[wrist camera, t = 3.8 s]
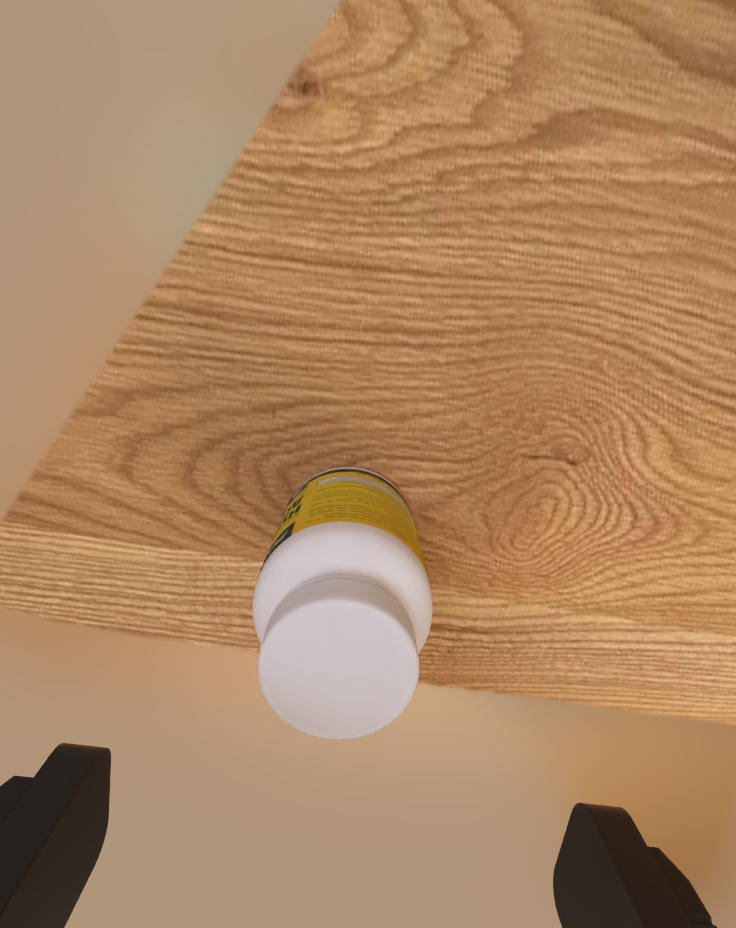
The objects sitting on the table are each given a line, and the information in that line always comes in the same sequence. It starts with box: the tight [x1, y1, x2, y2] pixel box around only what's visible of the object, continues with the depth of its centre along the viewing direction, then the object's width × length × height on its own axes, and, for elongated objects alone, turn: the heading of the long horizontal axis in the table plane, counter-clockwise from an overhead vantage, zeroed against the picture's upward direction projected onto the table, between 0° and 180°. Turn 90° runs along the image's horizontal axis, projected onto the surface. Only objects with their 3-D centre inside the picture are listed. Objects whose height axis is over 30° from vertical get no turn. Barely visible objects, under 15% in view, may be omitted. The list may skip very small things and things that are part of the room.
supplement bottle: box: [253, 467, 433, 739], centre depth 17 cm, size 5×5×10 cm
